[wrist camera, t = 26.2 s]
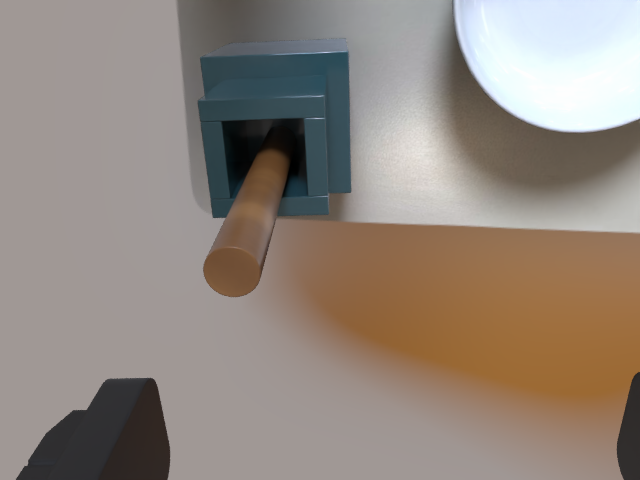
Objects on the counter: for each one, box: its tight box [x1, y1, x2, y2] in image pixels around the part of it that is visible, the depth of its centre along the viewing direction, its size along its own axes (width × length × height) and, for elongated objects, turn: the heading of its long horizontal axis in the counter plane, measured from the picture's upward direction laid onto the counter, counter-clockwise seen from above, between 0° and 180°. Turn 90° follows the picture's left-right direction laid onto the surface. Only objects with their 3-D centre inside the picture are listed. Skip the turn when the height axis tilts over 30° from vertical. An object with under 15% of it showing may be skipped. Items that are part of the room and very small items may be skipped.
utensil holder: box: [198, 38, 351, 218], centre depth 40 cm, size 10×10×19 cm
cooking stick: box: [203, 127, 296, 297], centre depth 30 cm, size 2×2×20 cm
